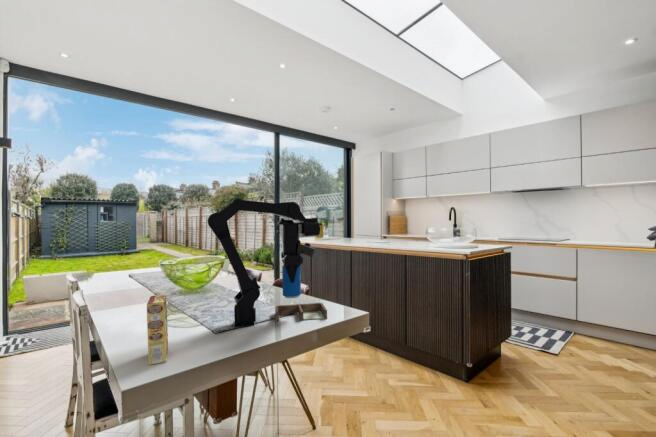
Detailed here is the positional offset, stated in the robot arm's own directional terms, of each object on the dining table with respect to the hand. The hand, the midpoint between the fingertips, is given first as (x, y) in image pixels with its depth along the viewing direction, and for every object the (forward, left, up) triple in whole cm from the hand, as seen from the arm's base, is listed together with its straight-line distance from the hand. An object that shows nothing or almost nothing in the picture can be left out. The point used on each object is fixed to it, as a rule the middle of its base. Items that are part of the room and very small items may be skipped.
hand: (291, 280), depth 116 cm
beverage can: (0, 0, -6) cm, 6 cm away
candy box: (-37, -25, -13) cm, 47 cm away
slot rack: (+3, 0, -13) cm, 13 cm away
